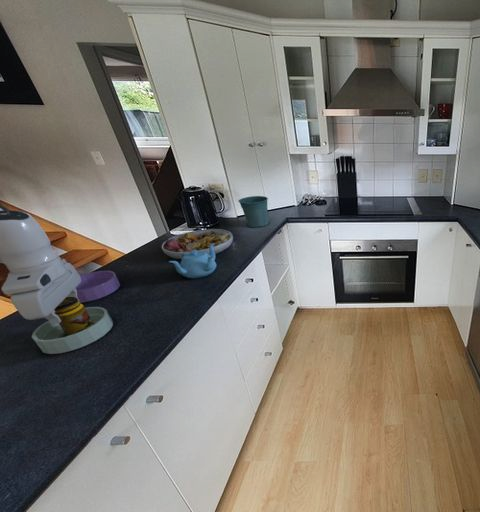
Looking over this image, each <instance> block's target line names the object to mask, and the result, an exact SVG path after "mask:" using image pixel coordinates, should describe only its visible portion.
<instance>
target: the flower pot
mask: <svg viewBox="0 0 480 512" xmlns="http://www.w3.org/2000/svg"><path fill="white" fill-rule="evenodd" d="M268 200H269V198H268V197H267V196H264V195H263V196H262V195H252V196H247V197H243V198H240V199H238V203H239V204H240V208H241V209H242V212H243V214H244V215H243V216H244V217H245V221H246V224H247V226H248V227H249V228H259V227H260V228H261V227H262V228H263V227H266V226H267V225H269V223H270V222H269V212H268V204H269V203H268Z"/></svg>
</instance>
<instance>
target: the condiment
mask: <svg viewBox="0 0 480 512" xmlns="http://www.w3.org/2000/svg"><path fill="white" fill-rule="evenodd" d="M85 308H86V307H85V306H84V303H83V304H82V303H80V302H79V301H78V299H77V298H76V297H66V298H65V299H64V300H63V301H62V302H61V303H60V304H59V305H58V306H57V307H56V308H55V309H54V310H55V314H56V315H61V317H62V318H63V320H62V321H61V322H60V323H59V324H60V326H61V328H62V329H63V331H64V333H61V334H59V338H63V337H66V336H69V335H72V334H76V333H78V332H80V331H83V330H85V329H87V328H89V327H90V326H92V325H94V324H95V323H93V321H92V319H91V318H90V316H89V314H88V312H87V311H86V309H85ZM96 323H97V322H96Z"/></svg>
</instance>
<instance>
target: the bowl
mask: <svg viewBox="0 0 480 512" xmlns="http://www.w3.org/2000/svg"><path fill="white" fill-rule="evenodd" d="M233 240H234V235H233V233H232V232H231V231H230V230H226V229H220V228H208V229H198V230H193V231H188V232H183V233H181V234H177V235H175V236H172V237H170V238H168V239H167V240H165V241H163V243H162V245H161V249H162V252H163V253H164V254H165V255H166V256H168V257H170V258H171V259H172V258H173V259H177V260H182V254H183V253H190V251H192V250H197V251H204V252H206V253H207V254H209V247H210V245H211V244H212V243H214V246H213V250H214V252H215V255H216V254H220V253H221V252H223V251H225V250H226V249H228V248H229V247H230V246H231V245H232V243H233V242H234V241H233Z"/></svg>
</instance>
